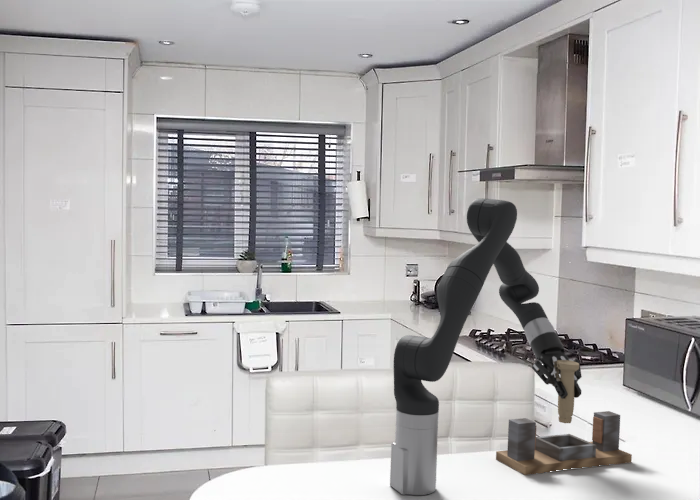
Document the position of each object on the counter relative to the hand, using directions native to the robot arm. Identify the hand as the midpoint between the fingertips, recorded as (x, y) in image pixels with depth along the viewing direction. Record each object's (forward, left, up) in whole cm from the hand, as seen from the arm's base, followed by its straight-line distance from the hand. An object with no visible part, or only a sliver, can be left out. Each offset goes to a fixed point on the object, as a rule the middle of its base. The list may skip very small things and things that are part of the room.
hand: (571, 396), depth 182 cm
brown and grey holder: (0, +2, -17) cm, 17 cm away
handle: (0, +2, -7) cm, 7 cm away
